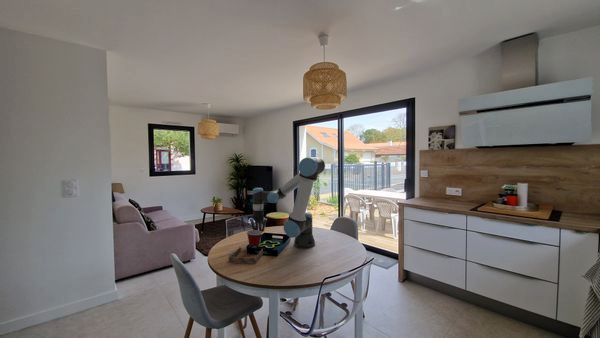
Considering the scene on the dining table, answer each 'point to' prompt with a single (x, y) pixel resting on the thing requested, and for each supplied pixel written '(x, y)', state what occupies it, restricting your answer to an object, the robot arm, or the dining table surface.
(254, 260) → the frame
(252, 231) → the plastic cup
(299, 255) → the dining table surface
